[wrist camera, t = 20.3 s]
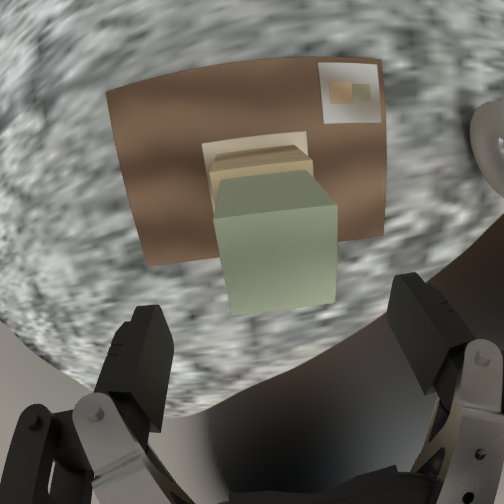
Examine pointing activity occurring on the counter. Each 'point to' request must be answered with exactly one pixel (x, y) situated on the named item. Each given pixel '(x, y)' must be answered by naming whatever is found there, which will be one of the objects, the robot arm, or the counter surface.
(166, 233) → the baseplate
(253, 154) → the maple block
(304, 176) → the sage block
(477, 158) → the donut
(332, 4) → the counter surface
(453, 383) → the robot arm
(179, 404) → the counter surface
